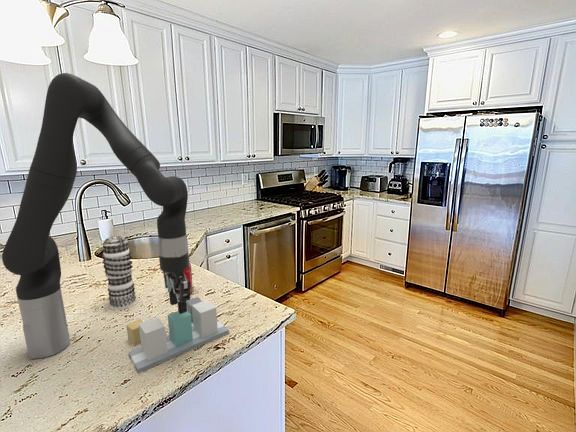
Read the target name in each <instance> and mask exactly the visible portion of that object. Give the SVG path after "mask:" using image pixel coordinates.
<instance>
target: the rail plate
mask: <svg viewBox="0 0 576 432" xmlns="http://www.w3.org/2000/svg"><path fill="white" fill-rule="evenodd" d="M201 301H202V300H201ZM192 315H193V323H192V334H193V340H191V341H189V342H187V343H184V344H182V345H179V346H177V347H175V345H174V344H173V343H172V342H171V340H170V335H167V333H166V331H167V330H166V325H165V324H164V323H163V322H162V320H161V319H160V318H159V316H157V317H153V318H150V319H148V320H145V321H143V322H142V323H139V332H140V340H141V343H140V345H141V346H139V347H136V348H134V349H131V350H129V351H128V353H127V354H128V356H129V358H130V360H131V362H132V364H133V366H134V368H135V370H136V372H137V373H138V374H140V373H142V372H145V371H146V370H149V369H152V368H155V367H156V366H158V365H160V364H163V363H165V362H167V361H169V360H172V359H174V358H177V357H179V356H182V355H183V354H185V353H188V352H190V351H192V350H194V349H196V348H199V347H201V346H204V345H206V344H208V343H210V342H213V341H214V340H217V339H220V338H221V337H223V336H227V335H229V334H230V329H229V328H228V327H227V326H225V325H224V324H223V323H222V322H221V321H219V320H218V316H217V315H218V314H217V307H216V306H215V305H214V304H213V303H212V302H210V301H209V300H208V299H205V300H203V301H202V302H200V303H197V304H194V305H192Z"/></svg>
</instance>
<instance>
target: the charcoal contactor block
mask: <svg viewBox="0 0 576 432" xmlns="http://www.w3.org/2000/svg"><path fill="white" fill-rule="evenodd" d="M186 302H187V311H188V312H189V313H190V314H191V321H192V324H193V315H192V305H194V304H197V303H200V302H202V300H201V298H200V297H199V296H197V297H196V296H195V297H193V298H190V300H187V301H186Z"/></svg>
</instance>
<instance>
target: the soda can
mask: <svg viewBox="0 0 576 432" xmlns="http://www.w3.org/2000/svg"><path fill="white" fill-rule="evenodd" d="M184 274H185V276H186V281H187V280H189V281H190V294H191V293H192V292H193V290H194V287H193V274H192V265H191V261H190V260H189V267H188V268H187V269H185V270H184ZM178 290H179V288H178ZM183 296H184V295H183Z"/></svg>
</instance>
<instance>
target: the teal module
mask: <svg viewBox="0 0 576 432" xmlns="http://www.w3.org/2000/svg"><path fill="white" fill-rule="evenodd" d="M167 322H168V334H169V335H170V340H171V342H172V343H173V344H174V345H175V347H177V346H179V345H182V344H184V343H187V342H189V341H191V340H193V334H192V326H193V323H192V321H191V314H190V313H189V312H188V311H187V312H185V313H182V314H180V313H179V312H178V310H176V311H175V312H171V313H168V314H167ZM169 335H168V336H169Z"/></svg>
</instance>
